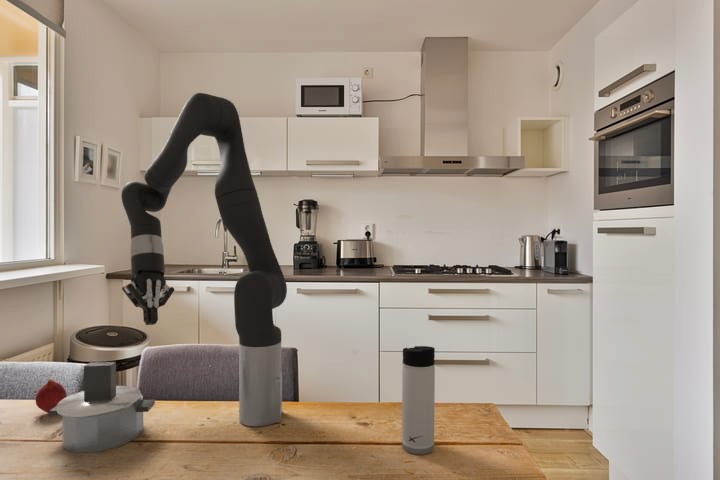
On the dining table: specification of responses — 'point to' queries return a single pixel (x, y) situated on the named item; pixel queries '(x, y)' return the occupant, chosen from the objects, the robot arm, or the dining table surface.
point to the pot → (103, 428)
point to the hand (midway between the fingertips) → (151, 324)
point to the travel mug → (418, 399)
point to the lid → (98, 393)
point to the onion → (50, 395)
